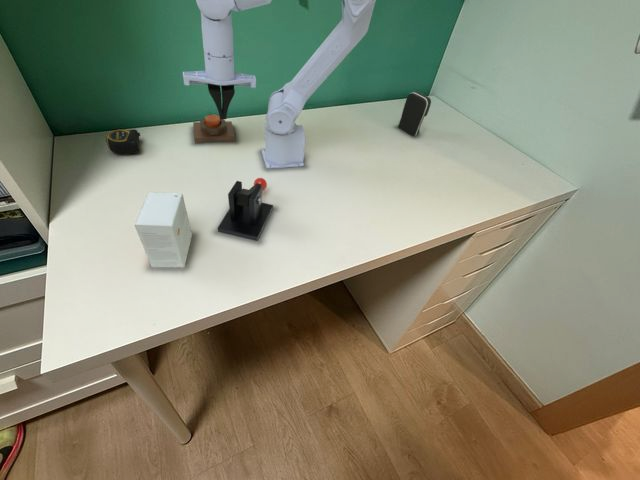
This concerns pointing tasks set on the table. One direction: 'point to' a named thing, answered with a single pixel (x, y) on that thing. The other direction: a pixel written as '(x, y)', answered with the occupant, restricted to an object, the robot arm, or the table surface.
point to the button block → (213, 132)
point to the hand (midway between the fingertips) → (222, 117)
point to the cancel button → (212, 120)
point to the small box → (164, 229)
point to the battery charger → (414, 112)
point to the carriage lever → (250, 192)
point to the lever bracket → (245, 215)
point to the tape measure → (123, 141)
